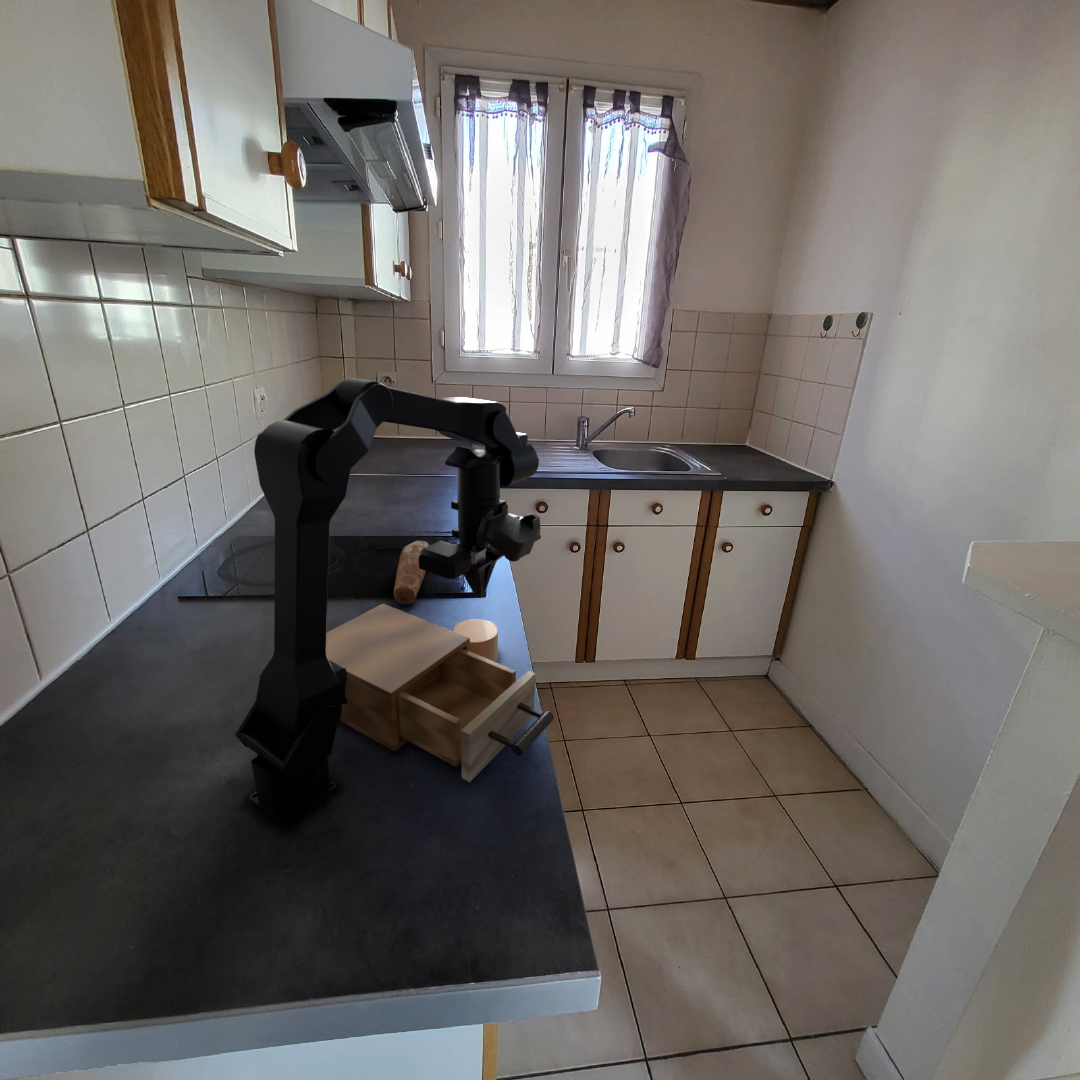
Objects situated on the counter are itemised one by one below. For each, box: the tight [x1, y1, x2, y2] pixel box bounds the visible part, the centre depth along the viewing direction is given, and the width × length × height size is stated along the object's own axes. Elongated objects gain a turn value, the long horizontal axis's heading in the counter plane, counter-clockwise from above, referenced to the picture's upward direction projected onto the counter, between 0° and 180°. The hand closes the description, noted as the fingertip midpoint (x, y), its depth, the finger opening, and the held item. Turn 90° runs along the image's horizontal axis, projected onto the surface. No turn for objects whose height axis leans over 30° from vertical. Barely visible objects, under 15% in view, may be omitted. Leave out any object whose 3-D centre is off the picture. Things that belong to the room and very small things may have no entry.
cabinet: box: [326, 603, 470, 753], centre depth 75 cm, size 17×15×9 cm
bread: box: [393, 540, 430, 606], centre depth 107 cm, size 6×19×6 cm, turn 2°
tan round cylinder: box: [452, 618, 499, 663], centre depth 85 cm, size 7×7×5 cm
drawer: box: [396, 649, 555, 783], centre depth 69 cm, size 20×13×7 cm, turn 58°
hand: (479, 596), depth 81 cm, fingers closed
